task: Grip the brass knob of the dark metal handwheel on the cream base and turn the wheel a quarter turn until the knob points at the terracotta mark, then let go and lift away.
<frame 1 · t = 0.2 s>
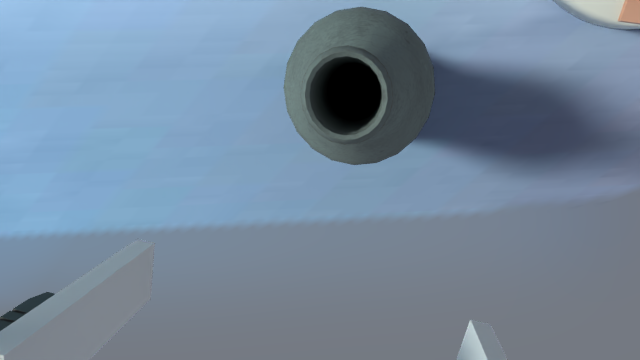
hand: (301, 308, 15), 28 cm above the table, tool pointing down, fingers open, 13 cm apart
bottle: (363, 86, 40), on the table
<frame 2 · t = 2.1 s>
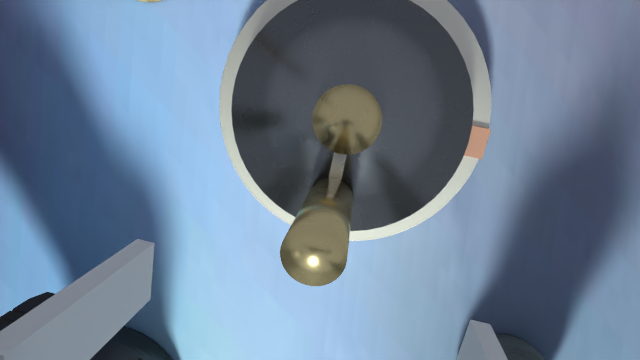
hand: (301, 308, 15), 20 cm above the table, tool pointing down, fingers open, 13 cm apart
handwheel: (344, 124, 24), point 10 cm above the table, hinge at 0.0°
wheel base: (350, 112, 33), on the table
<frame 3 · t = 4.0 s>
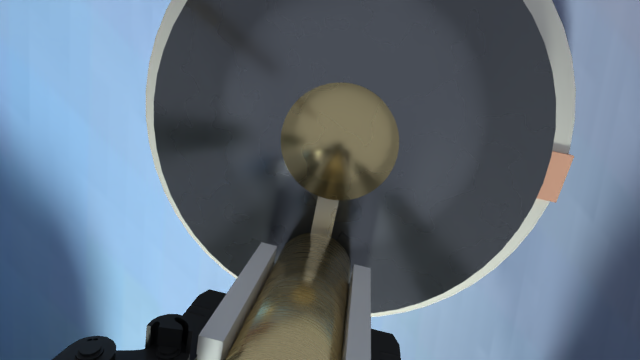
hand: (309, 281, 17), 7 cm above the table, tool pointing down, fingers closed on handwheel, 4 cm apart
handwheel: (332, 156, 13), point 10 cm above the table, hinge at 0.0°, touching gripper
wheel base: (347, 125, 22), on the table
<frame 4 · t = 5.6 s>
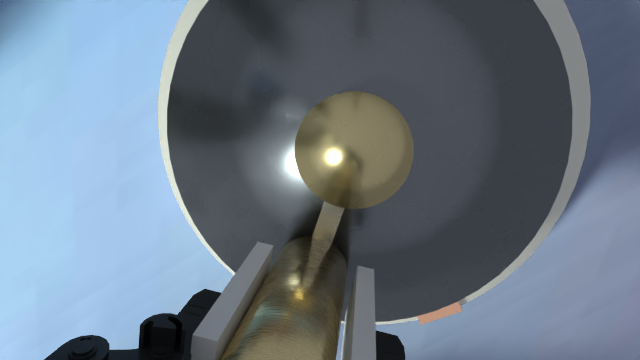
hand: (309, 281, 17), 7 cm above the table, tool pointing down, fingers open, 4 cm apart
handwheel: (348, 166, 13), point 10 cm above the table, hinge at 45.5°, touching gripper
wheel base: (358, 132, 22), on the table
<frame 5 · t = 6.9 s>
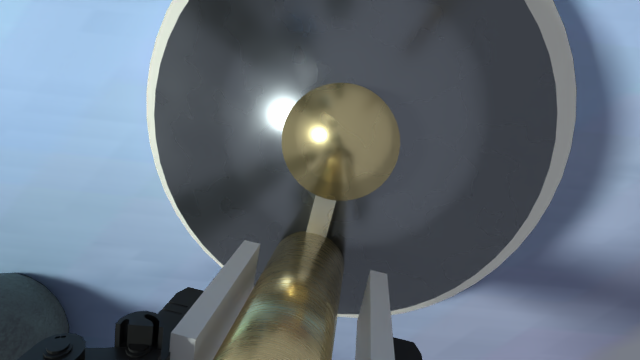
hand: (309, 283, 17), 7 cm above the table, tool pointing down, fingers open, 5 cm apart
bottle: (25, 316, 29), on the table
handwheel: (333, 156, 13), point 10 cm above the table, hinge at 86.7°
wheel base: (348, 125, 22), on the table
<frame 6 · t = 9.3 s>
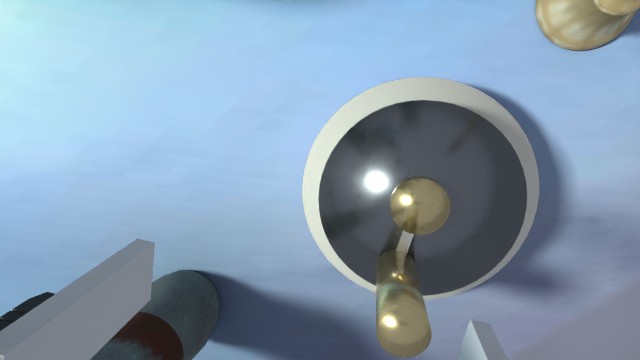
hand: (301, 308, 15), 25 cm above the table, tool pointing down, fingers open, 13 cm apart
hand bell: (584, 1, 33), on the table
bottle: (190, 299, 45), on the table
handwheel: (424, 217, 29), point 10 cm above the table, hinge at 86.7°
wheel base: (412, 188, 38), on the table
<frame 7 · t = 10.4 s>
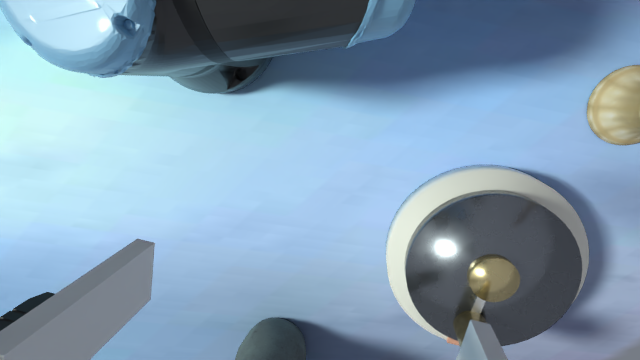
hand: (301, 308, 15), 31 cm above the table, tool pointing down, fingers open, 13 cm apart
hand bell: (627, 105, 39), on the table
bottle: (278, 341, 53), on the table
handwheel: (504, 295, 36), point 10 cm above the table, hinge at 86.7°
wheel base: (476, 252, 45), on the table
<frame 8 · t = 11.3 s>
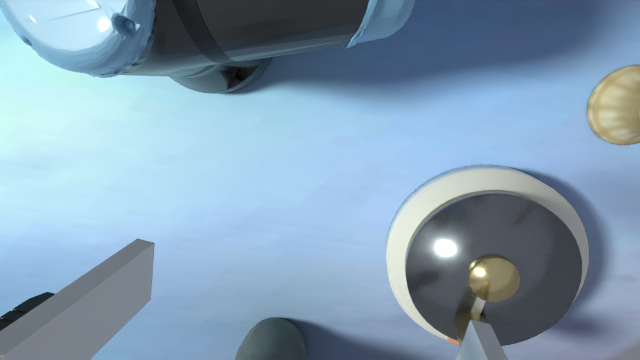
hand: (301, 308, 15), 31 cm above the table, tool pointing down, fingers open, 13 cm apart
hand bell: (627, 105, 39), on the table
bottle: (278, 341, 53), on the table
handwheel: (504, 295, 36), point 10 cm above the table, hinge at 86.7°
wheel base: (476, 252, 45), on the table
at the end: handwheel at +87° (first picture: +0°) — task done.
